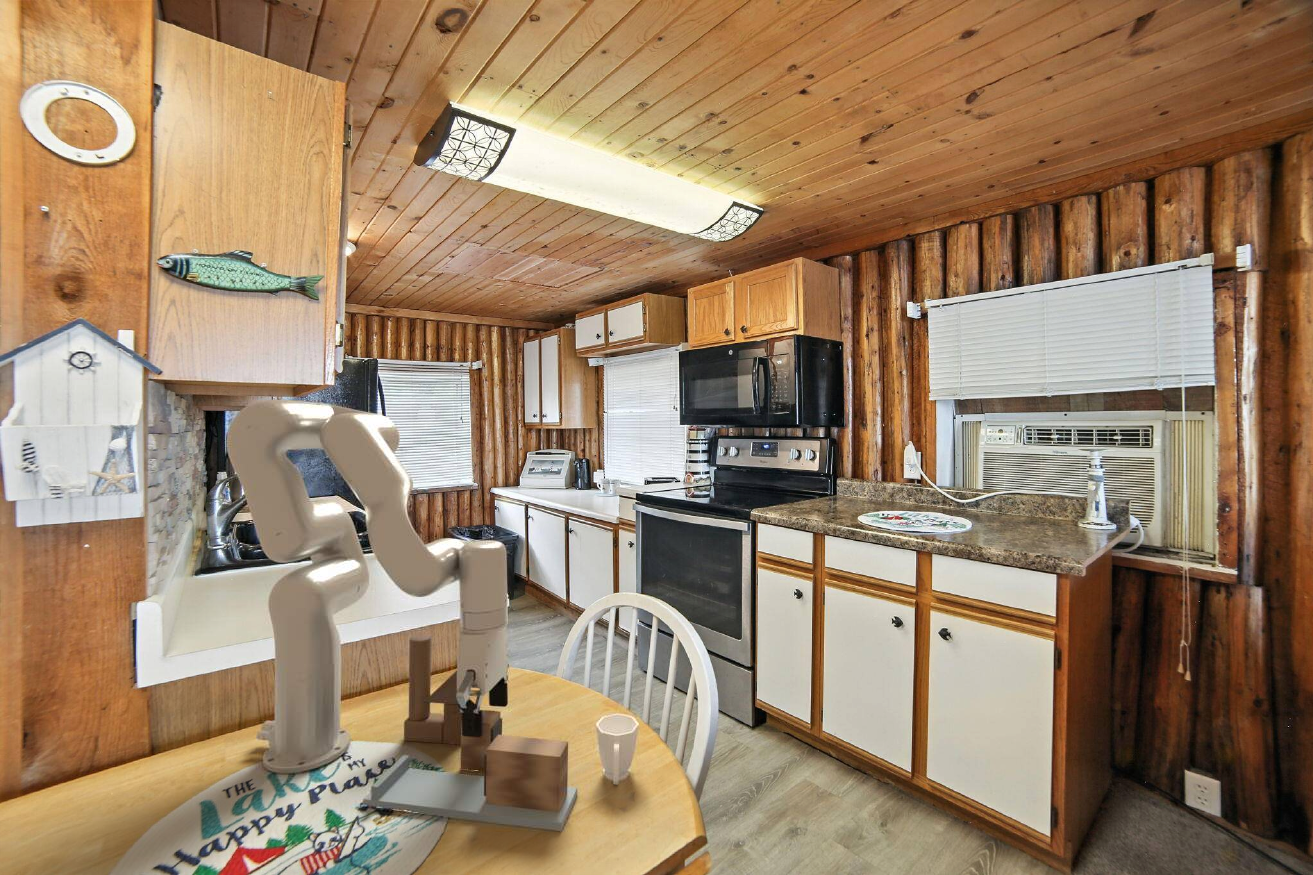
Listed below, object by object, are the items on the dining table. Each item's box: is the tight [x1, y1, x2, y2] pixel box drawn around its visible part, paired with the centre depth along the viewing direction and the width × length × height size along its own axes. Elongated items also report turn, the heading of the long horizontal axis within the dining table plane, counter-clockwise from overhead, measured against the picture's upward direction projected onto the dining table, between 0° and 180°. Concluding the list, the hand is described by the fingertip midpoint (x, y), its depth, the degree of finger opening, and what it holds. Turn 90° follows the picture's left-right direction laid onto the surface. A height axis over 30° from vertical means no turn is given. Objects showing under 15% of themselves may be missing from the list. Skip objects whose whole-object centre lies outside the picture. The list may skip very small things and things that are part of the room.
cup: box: [595, 713, 640, 785], centre depth 91 cm, size 7×10×8 cm
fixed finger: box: [483, 734, 569, 812], centre depth 84 cm, size 11×4×8 cm, turn 82°
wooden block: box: [403, 633, 471, 746], centre depth 101 cm, size 4×11×18 cm, turn 85°
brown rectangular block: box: [460, 709, 503, 773], centre depth 94 cm, size 5×4×8 cm
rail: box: [362, 754, 578, 832], centre depth 85 cm, size 30×8×3 cm, turn 82°
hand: (486, 719), depth 94 cm, fingers open, 9 cm apart
